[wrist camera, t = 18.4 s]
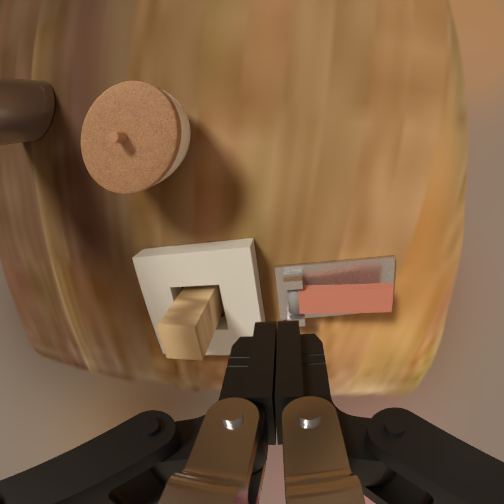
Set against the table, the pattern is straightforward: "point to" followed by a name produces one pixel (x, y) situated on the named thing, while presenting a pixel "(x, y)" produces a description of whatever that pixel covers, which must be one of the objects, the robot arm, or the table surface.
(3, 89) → the robot arm
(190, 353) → the peg
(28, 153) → the table surface
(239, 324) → the socket block
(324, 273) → the lever bracket
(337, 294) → the latch lever
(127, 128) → the lidded jar
